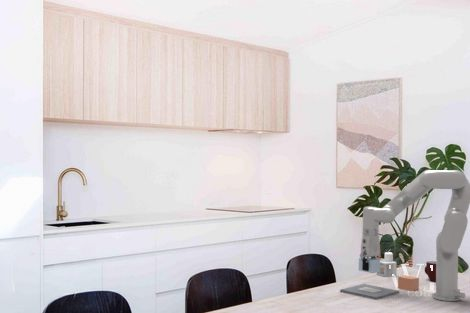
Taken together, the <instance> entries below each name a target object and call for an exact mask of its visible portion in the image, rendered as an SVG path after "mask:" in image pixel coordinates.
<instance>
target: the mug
mask: <svg viewBox="0 0 470 313" xmlns="http://www.w3.org/2000/svg"><path fill="white" fill-rule="evenodd" d="M430 265H433V271H431V268H430ZM424 273H425V274H426V275H427V277H428V280H429V281H430V282H431V281H433V282H432V283H436V261H435V260H431V261H426V265H425V267H424Z"/></svg>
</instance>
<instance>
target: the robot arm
mask: <svg viewBox="0 0 470 313" xmlns="http://www.w3.org/2000/svg"><path fill="white" fill-rule="evenodd" d="M432 189H433V190H434V189H437V190H439V189H440V190H451V198H450V199H449V204H448V206H447V209H446V212H445V214H444V219H443V220H444V223H443V225H442V229H441V231H439V233H438V235H437V237H436V242H435V244H436V245H435V247H436V248H435V251H436V282H435V292H434V293H432V294H431V295H432V296H431V297H432V298H433V299H435V300H438V301H444V302H458V301H460V300H462V299H466V296H467V295H466V293H465V292H460V288H459V287H458V286H459V284H458V277H459V275H458V273H459V249H460V247H461V245H462V242H463V239H464V236H465V233H466V231H467V227H468V222H469V220H468V216H467V214H468V211H469V208H470V181H469V179H468V178H467V176H466V174H465V173H464V172H463V171H461V170H458V169H453V170H451V169H449V170H439V169H437V170H434V169H426V170H424V171H422V172H421V173H420V174H419V175H418V176H417V177H415V178H414V179H413V180H412V181H410V183H408V184H407V185H406V186H405V187H404V188H402V190H400V192H398V194H397V195H396V196H394V197H393V198H392V199H391V200H390V201H389V202H387V203H386V204H385V205H384V206H383V207H377V206H364V207H363V208H362V209H363V210H362V233H361V234H362V236H361V243H360V244H361V245H360V254H359V258H361V259H362V262H363V263H362V270H365V271H369V263H368V260H369V258H375V259H379V256H380V255H381V243H380V235H379V230H380V229H379V228H380V226H379V225H380V224H379V223H383V224H391V223H393V222H394V221H395V219H396V217H397V216H399V215H400V214H401V213H402V212H403V211H405V210H406V209H407V208H409V207H410V206H412V205H415V204H416V203H417V202H418V201H419V200H421V198H423V197H424V196H425V195H427V193H428V192H430V191H431V190H432ZM365 257H367V258H365ZM458 288H459V289H458Z"/></svg>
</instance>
